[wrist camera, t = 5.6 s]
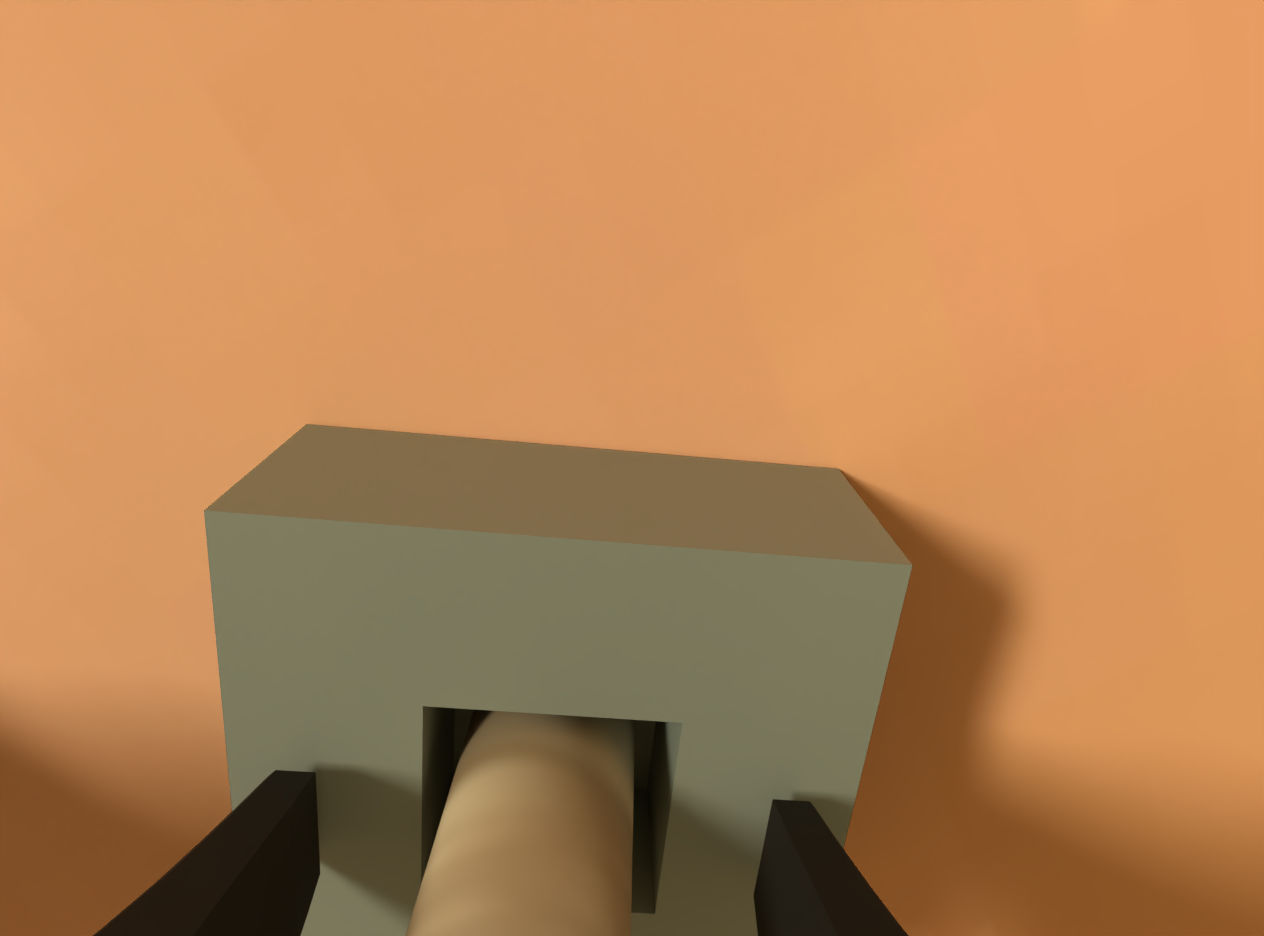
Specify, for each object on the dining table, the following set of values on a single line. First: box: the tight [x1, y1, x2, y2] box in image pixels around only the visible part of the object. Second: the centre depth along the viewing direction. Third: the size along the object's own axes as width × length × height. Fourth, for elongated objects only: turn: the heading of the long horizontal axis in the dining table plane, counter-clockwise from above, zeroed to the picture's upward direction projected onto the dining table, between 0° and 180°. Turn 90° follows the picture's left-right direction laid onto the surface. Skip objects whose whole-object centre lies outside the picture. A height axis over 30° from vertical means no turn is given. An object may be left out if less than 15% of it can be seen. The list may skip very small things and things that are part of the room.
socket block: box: [204, 424, 913, 936], centre depth 15 cm, size 10×10×4 cm
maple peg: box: [406, 710, 635, 936], centre depth 12 cm, size 3×3×7 cm
